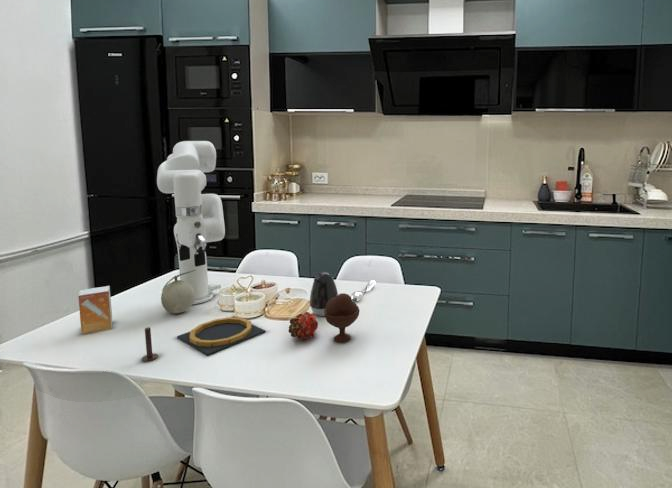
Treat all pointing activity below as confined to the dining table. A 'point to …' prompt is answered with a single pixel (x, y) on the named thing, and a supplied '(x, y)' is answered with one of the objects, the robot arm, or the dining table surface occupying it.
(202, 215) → the robot arm
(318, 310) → the dark grey tall dome
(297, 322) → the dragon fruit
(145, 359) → the post
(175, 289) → the fruit
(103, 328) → the small box
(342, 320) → the ice cream bowl
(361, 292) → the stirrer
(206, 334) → the mat
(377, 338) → the dining table surface
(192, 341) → the ring
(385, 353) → the dining table surface
